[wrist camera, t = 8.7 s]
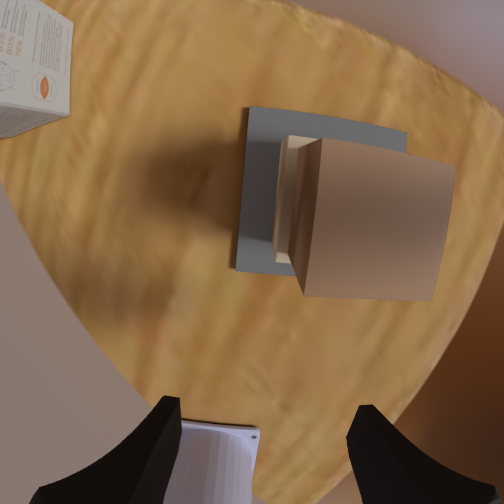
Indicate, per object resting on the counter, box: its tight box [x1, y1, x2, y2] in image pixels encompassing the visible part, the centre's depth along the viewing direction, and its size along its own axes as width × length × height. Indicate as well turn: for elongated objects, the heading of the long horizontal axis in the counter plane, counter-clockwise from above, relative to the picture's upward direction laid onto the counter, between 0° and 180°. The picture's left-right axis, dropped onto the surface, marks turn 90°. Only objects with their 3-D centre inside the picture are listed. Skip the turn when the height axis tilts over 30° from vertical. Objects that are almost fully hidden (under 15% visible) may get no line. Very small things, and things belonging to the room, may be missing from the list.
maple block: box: [271, 135, 318, 263], centre depth 16 cm, size 6×6×4 cm
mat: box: [236, 107, 407, 276], centre depth 18 cm, size 10×10×1 cm
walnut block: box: [288, 138, 456, 301], centre depth 12 cm, size 5×5×5 cm
